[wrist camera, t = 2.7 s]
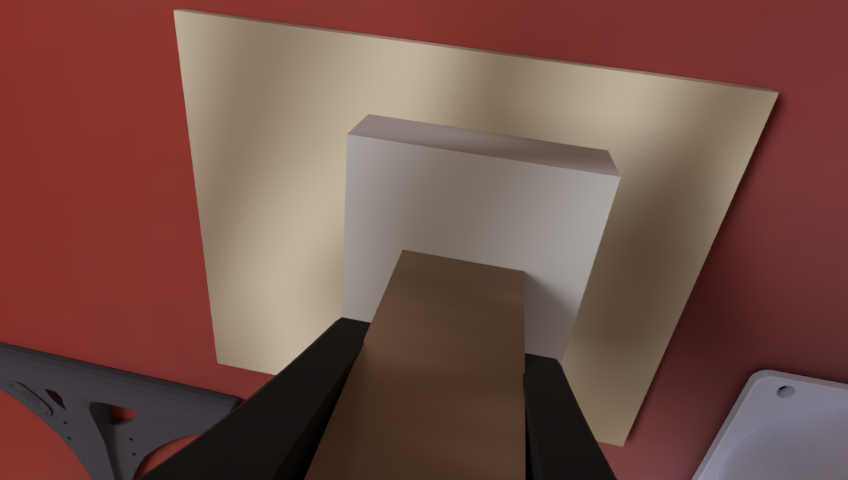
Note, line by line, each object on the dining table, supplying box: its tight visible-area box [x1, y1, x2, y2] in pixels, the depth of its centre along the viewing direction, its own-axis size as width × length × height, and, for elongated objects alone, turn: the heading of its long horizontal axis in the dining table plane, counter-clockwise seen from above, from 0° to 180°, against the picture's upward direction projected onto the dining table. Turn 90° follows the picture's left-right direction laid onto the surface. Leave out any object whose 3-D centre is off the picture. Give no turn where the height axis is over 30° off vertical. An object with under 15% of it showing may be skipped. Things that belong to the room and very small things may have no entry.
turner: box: [304, 114, 621, 480], centre depth 9 cm, size 5×7×8 cm
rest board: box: [174, 9, 779, 446], centre depth 16 cm, size 16×13×1 cm
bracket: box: [0, 342, 239, 480], centre depth 25 cm, size 14×15×3 cm
